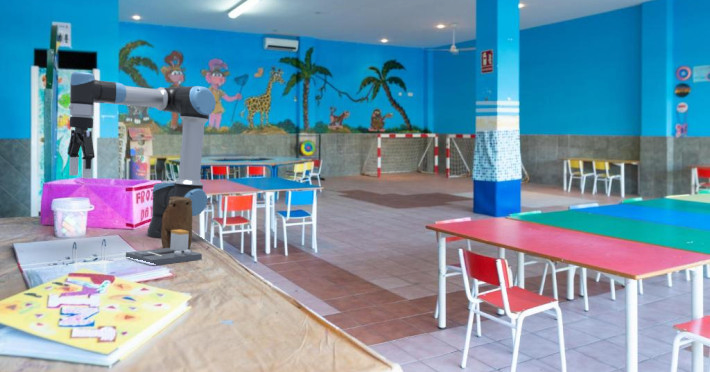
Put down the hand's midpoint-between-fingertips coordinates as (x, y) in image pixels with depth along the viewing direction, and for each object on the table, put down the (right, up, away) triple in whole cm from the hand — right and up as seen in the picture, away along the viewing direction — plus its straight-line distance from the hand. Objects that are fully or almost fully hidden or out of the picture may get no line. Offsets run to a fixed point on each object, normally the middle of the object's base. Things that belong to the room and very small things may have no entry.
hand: (80, 176), depth 208 cm
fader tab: (+34, -26, +4) cm, 43 cm away
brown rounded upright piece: (+28, -28, +21) cm, 44 cm away
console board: (+30, -29, 0) cm, 42 cm away
